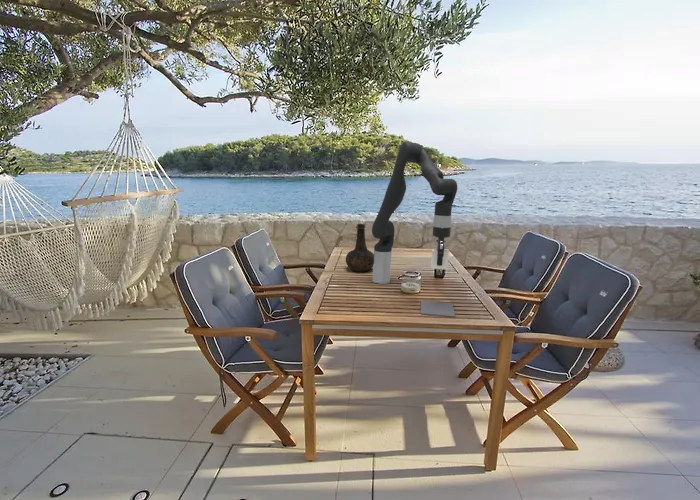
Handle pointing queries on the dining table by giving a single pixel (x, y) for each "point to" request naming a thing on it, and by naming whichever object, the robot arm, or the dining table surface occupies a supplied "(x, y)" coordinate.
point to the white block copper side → (444, 261)
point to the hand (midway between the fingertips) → (439, 264)
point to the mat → (437, 309)
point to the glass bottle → (360, 253)
